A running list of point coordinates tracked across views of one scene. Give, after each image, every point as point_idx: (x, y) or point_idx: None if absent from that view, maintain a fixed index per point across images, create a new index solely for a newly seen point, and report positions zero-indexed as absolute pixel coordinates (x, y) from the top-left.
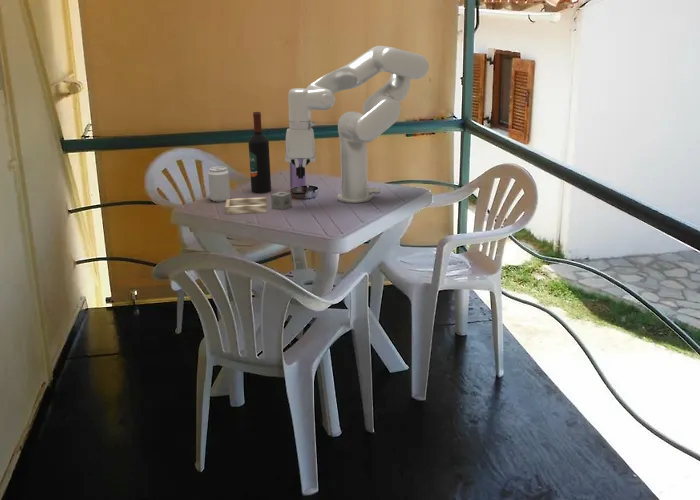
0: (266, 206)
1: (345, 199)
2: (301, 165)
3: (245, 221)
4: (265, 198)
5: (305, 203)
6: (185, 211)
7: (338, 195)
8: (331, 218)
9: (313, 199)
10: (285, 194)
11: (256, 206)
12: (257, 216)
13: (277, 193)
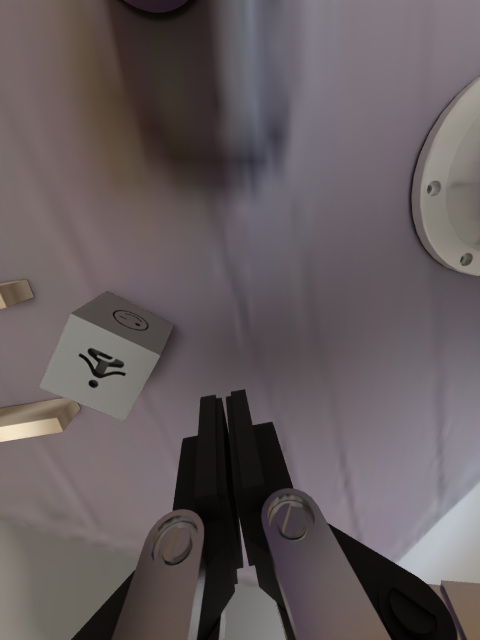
0: (65, 427)
1: (451, 261)
2: (260, 584)
3: (37, 508)
4: (1, 307)
5: (237, 268)
6: None
7: (431, 169)
8: (347, 465)
9: (276, 184)
10: (131, 382)
11: (16, 437)
12: (60, 458)
13: (72, 362)
